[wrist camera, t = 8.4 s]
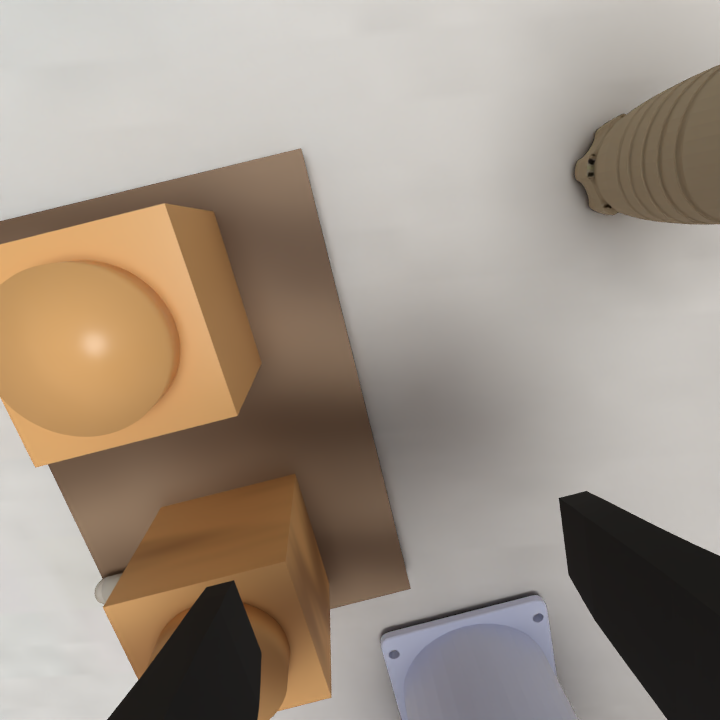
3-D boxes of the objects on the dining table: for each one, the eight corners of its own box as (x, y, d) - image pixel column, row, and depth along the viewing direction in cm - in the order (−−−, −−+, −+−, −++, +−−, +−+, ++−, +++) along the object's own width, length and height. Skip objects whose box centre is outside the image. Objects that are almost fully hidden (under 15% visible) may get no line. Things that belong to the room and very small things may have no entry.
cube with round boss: (261, 363, 17) (230, 432, 11) (116, 399, 17) (10, 488, 11) (213, 211, 15) (148, 200, 10) (55, 251, 15) (-107, 264, 10)
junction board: (405, 569, 21) (446, 733, 14) (148, 634, 21) (63, 831, 14) (302, 154, 16) (288, 97, 9) (-37, 236, 16) (-308, 241, 9)
